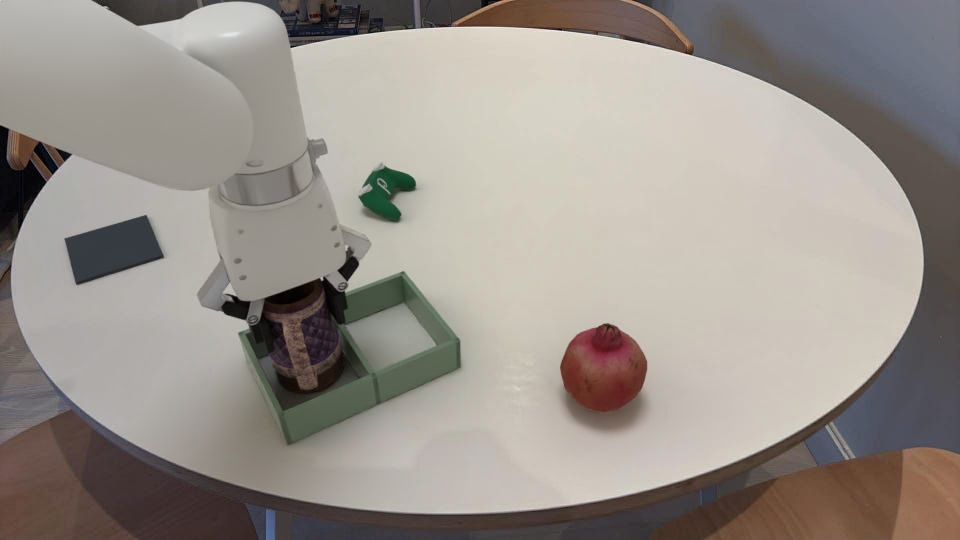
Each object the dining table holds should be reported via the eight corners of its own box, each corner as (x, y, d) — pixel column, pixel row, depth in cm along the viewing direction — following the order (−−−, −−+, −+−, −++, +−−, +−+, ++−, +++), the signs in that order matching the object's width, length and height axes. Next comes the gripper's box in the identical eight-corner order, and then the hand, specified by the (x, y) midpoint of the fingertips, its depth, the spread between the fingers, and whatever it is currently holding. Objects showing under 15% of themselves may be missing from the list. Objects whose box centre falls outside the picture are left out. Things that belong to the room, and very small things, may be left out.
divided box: (286, 445, 65) (278, 418, 63) (246, 359, 73) (237, 332, 71) (461, 367, 73) (460, 340, 70) (406, 296, 81) (403, 270, 78)
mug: (276, 350, 74) (249, 264, 67) (343, 338, 76) (324, 252, 68) (276, 426, 67) (245, 339, 59) (350, 412, 68) (330, 325, 60)
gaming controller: (403, 194, 100) (371, 166, 98) (420, 180, 98) (388, 151, 96) (384, 232, 93) (349, 203, 91) (401, 218, 91) (367, 188, 89)
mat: (76, 284, 83) (75, 282, 82) (65, 240, 89) (64, 238, 89) (163, 257, 87) (163, 254, 86) (147, 217, 93) (146, 214, 93)
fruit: (576, 440, 66) (587, 368, 59) (545, 377, 72) (552, 306, 65) (654, 420, 67) (672, 348, 61) (617, 360, 73) (631, 289, 67)
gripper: (347, 121, 61) (369, 276, 73) (139, 178, 54) (201, 339, 66) (383, 160, 56) (401, 319, 68) (161, 228, 49) (223, 392, 61)
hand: (302, 328), depth 67 cm, fingers closed on mug, 6 cm apart
